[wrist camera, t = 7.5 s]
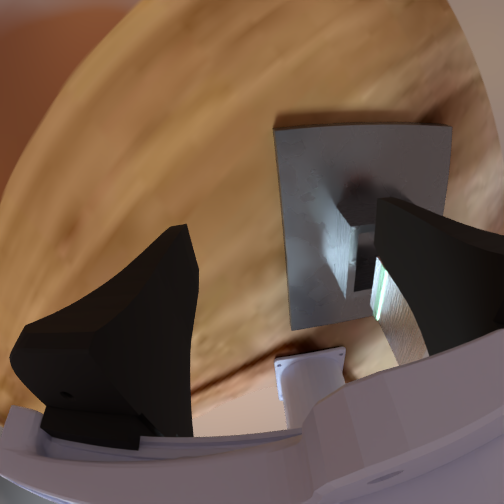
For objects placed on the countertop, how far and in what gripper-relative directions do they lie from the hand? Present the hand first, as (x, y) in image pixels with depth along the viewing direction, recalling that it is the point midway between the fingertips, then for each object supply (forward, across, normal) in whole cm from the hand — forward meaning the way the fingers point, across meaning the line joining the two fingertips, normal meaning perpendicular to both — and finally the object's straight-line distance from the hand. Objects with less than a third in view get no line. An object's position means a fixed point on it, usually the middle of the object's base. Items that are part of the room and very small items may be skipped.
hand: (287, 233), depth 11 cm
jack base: (+10, -8, +7) cm, 15 cm away
